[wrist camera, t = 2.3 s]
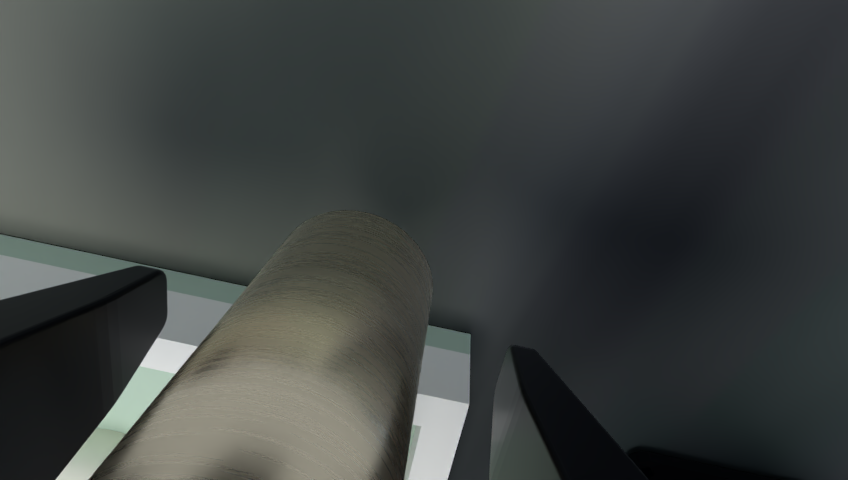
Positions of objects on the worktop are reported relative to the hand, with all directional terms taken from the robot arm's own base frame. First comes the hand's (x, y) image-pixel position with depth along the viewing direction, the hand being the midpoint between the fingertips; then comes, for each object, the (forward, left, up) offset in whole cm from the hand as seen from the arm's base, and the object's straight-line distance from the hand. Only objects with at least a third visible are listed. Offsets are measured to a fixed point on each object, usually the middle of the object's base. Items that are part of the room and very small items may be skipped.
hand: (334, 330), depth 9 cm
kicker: (0, +9, -5) cm, 10 cm away
